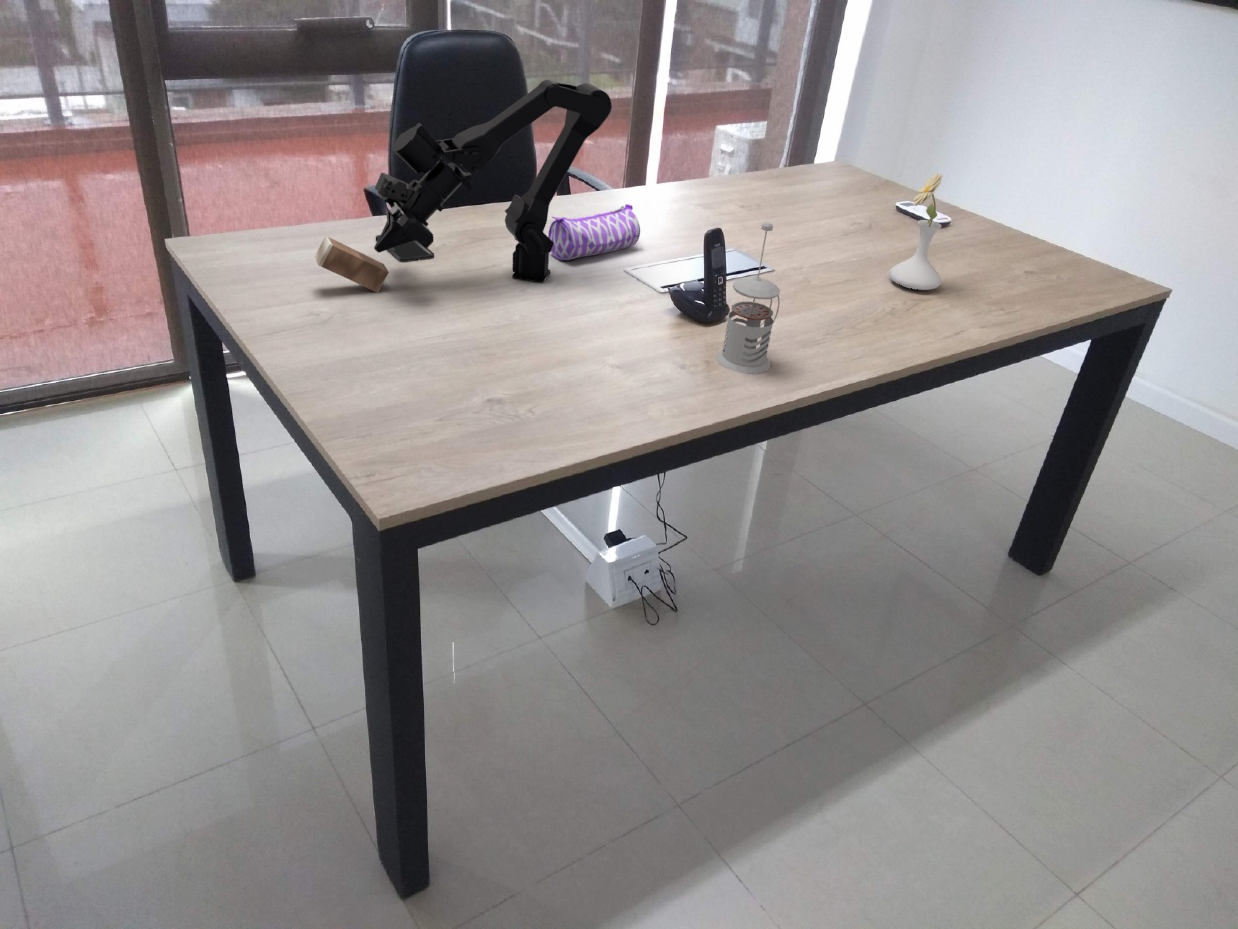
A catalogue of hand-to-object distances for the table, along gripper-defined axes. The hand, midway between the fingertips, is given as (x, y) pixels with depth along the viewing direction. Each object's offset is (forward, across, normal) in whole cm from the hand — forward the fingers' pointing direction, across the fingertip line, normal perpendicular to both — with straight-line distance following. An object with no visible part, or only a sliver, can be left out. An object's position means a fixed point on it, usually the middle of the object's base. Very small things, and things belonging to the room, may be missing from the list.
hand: (376, 250), depth 170 cm
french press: (-34, +45, +44) cm, 72 cm away
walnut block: (+4, 0, +4) cm, 6 cm away
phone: (-1, -20, +12) cm, 23 cm away
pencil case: (-30, -10, +40) cm, 51 cm away
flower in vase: (-74, +22, +84) cm, 114 cm away
